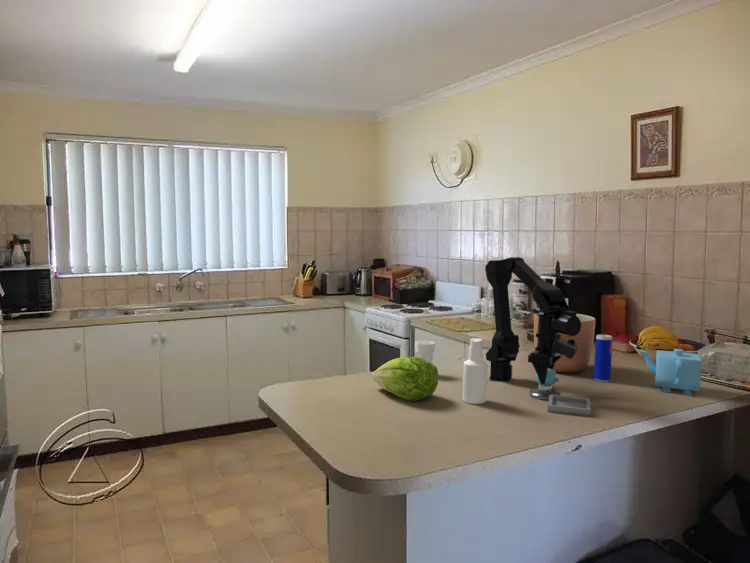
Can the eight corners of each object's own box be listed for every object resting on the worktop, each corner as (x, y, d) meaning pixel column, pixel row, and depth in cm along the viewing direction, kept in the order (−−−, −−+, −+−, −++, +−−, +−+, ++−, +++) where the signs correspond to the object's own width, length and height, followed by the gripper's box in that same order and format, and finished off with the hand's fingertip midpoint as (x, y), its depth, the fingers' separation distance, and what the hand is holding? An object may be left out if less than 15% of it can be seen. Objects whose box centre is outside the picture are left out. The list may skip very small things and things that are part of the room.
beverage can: (611, 382, 193) (614, 337, 191) (594, 381, 194) (597, 336, 192) (608, 378, 198) (611, 334, 196) (592, 377, 199) (594, 333, 197)
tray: (547, 411, 161) (547, 405, 161) (549, 400, 171) (549, 394, 171) (590, 416, 157) (590, 410, 157) (589, 405, 168) (589, 398, 167)
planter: (568, 360, 223) (570, 311, 222) (605, 374, 204) (608, 320, 202) (520, 364, 217) (522, 313, 215) (554, 378, 197) (557, 322, 195)
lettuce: (393, 364, 188) (367, 346, 180) (450, 368, 173) (425, 349, 165) (381, 403, 183) (354, 386, 175) (439, 410, 168) (412, 392, 160)
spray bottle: (487, 398, 172) (490, 338, 170) (484, 405, 165) (486, 342, 164) (464, 396, 174) (466, 336, 172) (460, 402, 168) (462, 340, 166)
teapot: (696, 386, 190) (699, 347, 189) (700, 398, 176) (703, 356, 175) (635, 379, 198) (637, 341, 196) (634, 390, 184) (637, 350, 182)
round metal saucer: (528, 398, 173) (528, 385, 173) (530, 390, 182) (531, 377, 181) (560, 401, 170) (560, 388, 170) (560, 393, 179) (561, 380, 178)
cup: (411, 375, 197) (412, 343, 196) (417, 371, 203) (418, 339, 202) (430, 377, 195) (431, 345, 194) (436, 373, 201) (437, 341, 200)
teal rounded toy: (533, 382, 174) (534, 369, 174) (538, 378, 179) (539, 365, 179) (556, 385, 171) (556, 372, 171) (560, 381, 176) (561, 368, 176)
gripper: (568, 338, 162) (565, 393, 163) (582, 328, 178) (580, 379, 179) (528, 333, 168) (526, 387, 169) (545, 324, 183) (543, 373, 185)
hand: (545, 381), depth 175 cm, fingers closed on teal rounded toy, 6 cm apart
